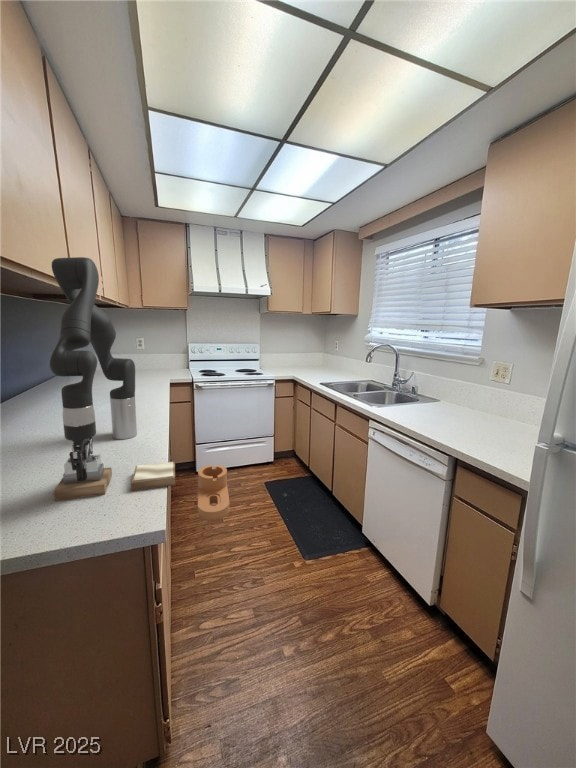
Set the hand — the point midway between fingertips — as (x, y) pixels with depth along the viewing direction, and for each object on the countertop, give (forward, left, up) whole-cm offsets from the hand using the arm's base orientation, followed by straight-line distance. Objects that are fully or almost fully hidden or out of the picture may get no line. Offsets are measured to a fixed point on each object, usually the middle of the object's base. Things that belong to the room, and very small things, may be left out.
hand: (84, 475), depth 90 cm
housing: (0, 0, -1) cm, 1 cm away
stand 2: (0, +19, -4) cm, 19 cm away
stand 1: (0, 0, -4) cm, 4 cm away
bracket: (+17, +35, -4) cm, 39 cm away
